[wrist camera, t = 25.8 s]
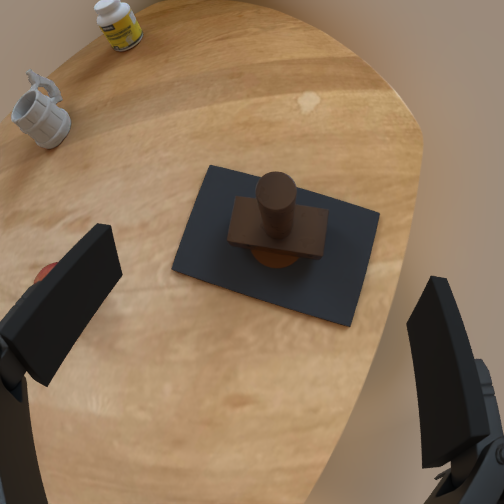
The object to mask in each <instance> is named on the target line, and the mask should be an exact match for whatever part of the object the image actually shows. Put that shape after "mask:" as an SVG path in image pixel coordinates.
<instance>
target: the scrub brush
mask: <svg viewBox="0 0 504 504" xmlns="http://www.w3.org/2000/svg"><path fill="white" fill-rule="evenodd" d="M255 193H256V198H257V199H256V198H249V197H241V196H235V201H234V206H233V211H232V216H231V221H230V226H229V231H228V236H227V242H228V243H229V244H230V245H231V246H233V247H239V248H246V249H252V250H258V251H264V252H270V253H277V254H283V255H289V256H295V257H301V258H308V259H314V260H320V259H321V258H322V257H323V253H324V246H325V238H326V231H327V223H328V215H329V210H328V209H322V208H316V207H309V206H303V205H297V204H296V194H297V188H296V184H295V182H294V181H293V179H292V178H291V177H290V176H289V175H287V174H285V173H282V172H270V173H267V174H265V175H264V176H262V177H261V178H260V179H259V181H258V182H257V185H256V189H255Z"/></svg>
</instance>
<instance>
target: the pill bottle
mask: <svg viewBox="0 0 504 504" xmlns="http://www.w3.org/2000/svg"><path fill="white" fill-rule="evenodd" d="M120 1H121V0H100V1H99V2H98V3H97V4H96V5H95V7H94V9H95V11H96V13H97V14H99V16H98V17H97V24H98V26H99V27H100V29H101V30H102V32H103V33H104V35H105V36H106V38H107V40H108V41H109V43H110V44H111V46H112V47H113V49H114V50H116V51H125V50H128V49H130V48H132V47H134V46H135V45H136V44H138V43H139V42H140V40H141V39H142V36H143V32H142V30H141V28H140V26H139V24H138V22H137V20H136V18H135V16H134V14H133V12H132V10H131V8H130V7H129V5H128V4H127V3H120Z"/></svg>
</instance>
